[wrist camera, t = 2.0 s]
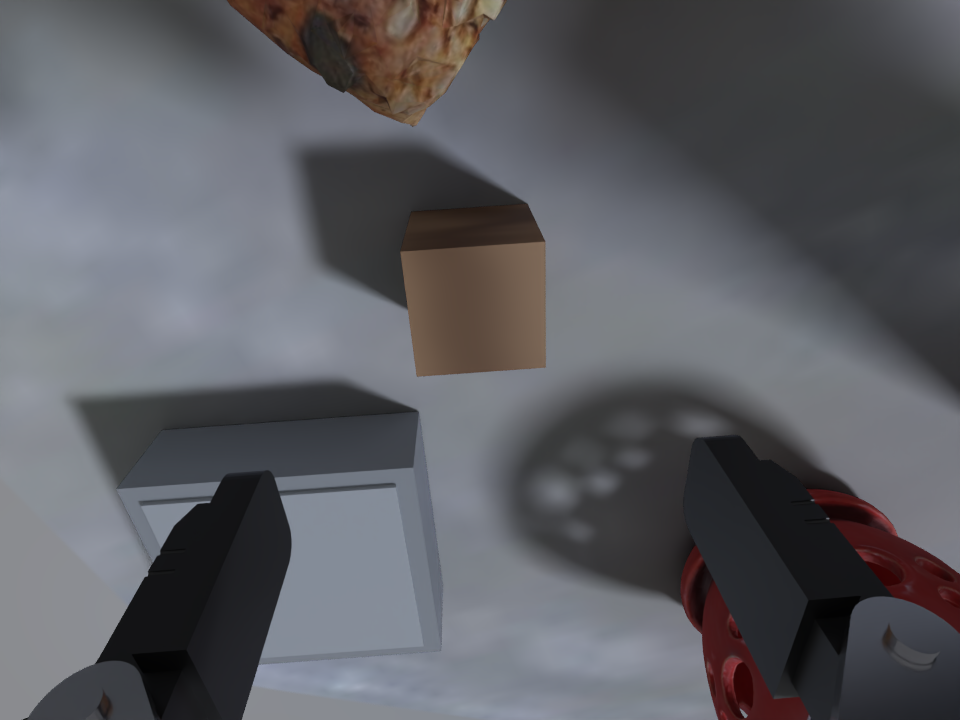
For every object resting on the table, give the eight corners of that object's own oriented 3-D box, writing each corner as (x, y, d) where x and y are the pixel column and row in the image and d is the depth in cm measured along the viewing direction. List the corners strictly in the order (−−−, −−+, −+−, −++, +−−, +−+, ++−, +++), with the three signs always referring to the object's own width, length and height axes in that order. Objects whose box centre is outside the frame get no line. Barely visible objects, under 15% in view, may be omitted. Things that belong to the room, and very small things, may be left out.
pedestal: (418, 411, 26) (413, 471, 22) (443, 585, 32) (441, 655, 28) (161, 430, 26) (113, 492, 22) (232, 600, 32) (203, 672, 28)
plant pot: (877, 605, 34) (1062, 849, 24) (663, 636, 35) (751, 886, 25) (919, 437, 28) (1197, 668, 18) (657, 479, 29) (773, 727, 18)
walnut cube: (526, 203, 22) (545, 241, 17) (528, 309, 24) (545, 367, 19) (411, 211, 22) (400, 251, 17) (423, 317, 24) (416, 376, 19)
